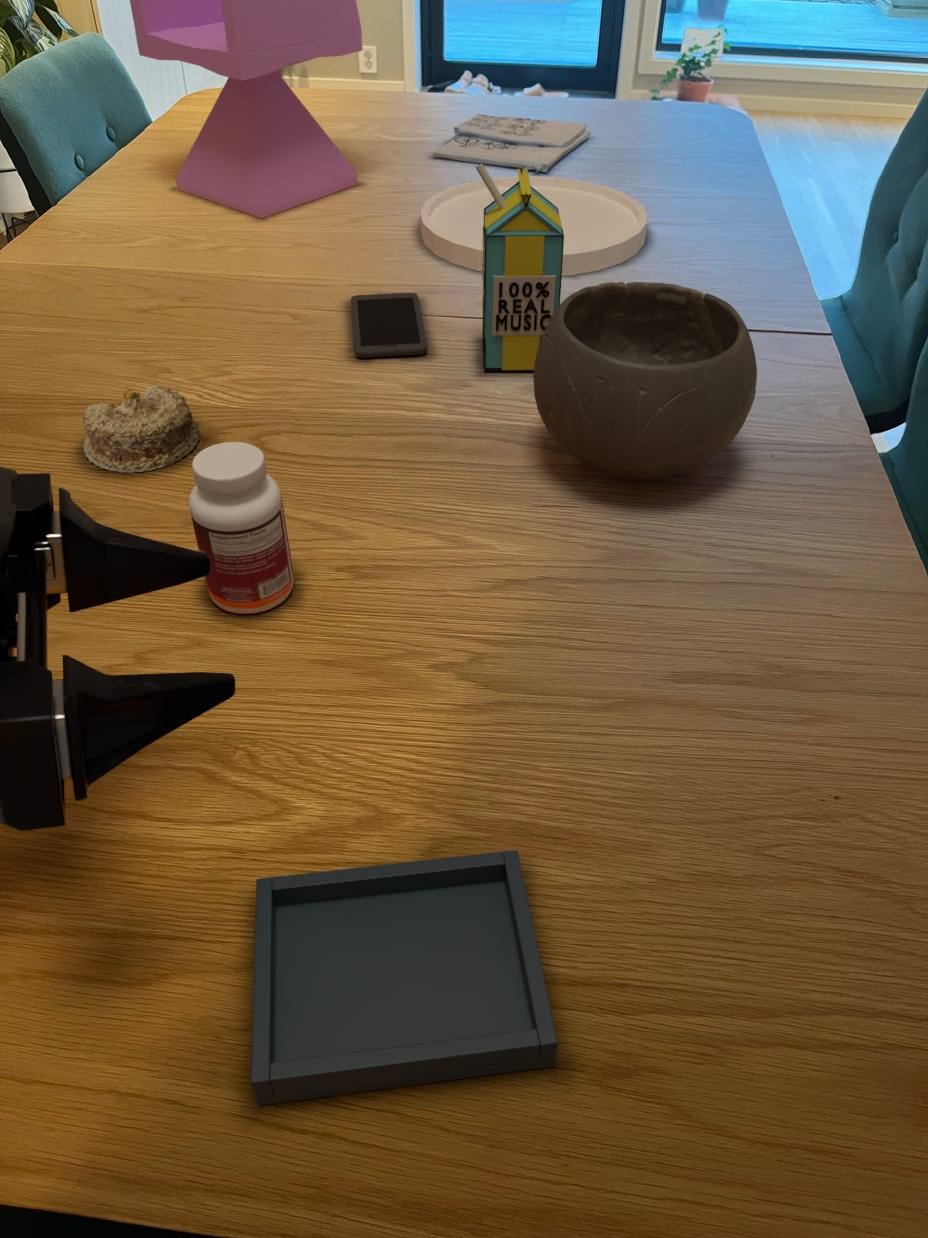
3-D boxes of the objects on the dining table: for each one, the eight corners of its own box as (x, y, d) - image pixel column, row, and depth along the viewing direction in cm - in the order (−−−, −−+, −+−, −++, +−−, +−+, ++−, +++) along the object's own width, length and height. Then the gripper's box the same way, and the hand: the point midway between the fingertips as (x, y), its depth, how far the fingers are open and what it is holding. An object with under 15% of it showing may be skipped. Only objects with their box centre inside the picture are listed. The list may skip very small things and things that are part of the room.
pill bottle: (217, 563, 76) (191, 434, 69) (300, 563, 76) (282, 434, 69) (200, 617, 71) (170, 485, 64) (288, 618, 71) (268, 485, 64)
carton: (474, 339, 104) (474, 153, 93) (550, 339, 104) (560, 152, 93) (475, 373, 99) (476, 179, 87) (555, 372, 99) (567, 179, 87)
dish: (257, 1106, 46) (250, 1082, 44) (262, 904, 54) (256, 878, 52) (554, 1067, 47) (557, 1042, 46) (516, 875, 55) (517, 849, 54)
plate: (588, 295, 113) (589, 273, 111) (377, 248, 123) (376, 227, 122) (678, 217, 131) (681, 197, 130) (488, 182, 142) (488, 163, 140)
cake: (224, 447, 90) (216, 394, 86) (122, 493, 84) (109, 439, 81) (161, 399, 94) (151, 347, 91) (62, 440, 89) (47, 387, 85)
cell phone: (417, 297, 112) (417, 291, 111) (428, 355, 101) (428, 348, 101) (350, 301, 111) (350, 294, 111) (354, 359, 101) (354, 352, 100)
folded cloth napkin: (591, 137, 158) (592, 122, 156) (545, 175, 144) (546, 159, 142) (478, 123, 164) (479, 108, 162) (424, 158, 150) (423, 143, 148)
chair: (164, 189, 140) (115, -73, 120) (274, 155, 151) (245, -90, 132) (261, 222, 130) (224, -58, 110) (370, 183, 141) (354, -77, 122)
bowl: (691, 395, 95) (712, 262, 87) (775, 501, 82) (810, 356, 74) (507, 415, 93) (511, 280, 84) (563, 529, 79) (575, 381, 71)
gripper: (-245, 640, 32) (256, 607, 37) (-160, 374, 45) (199, 377, 51) (-167, 865, 39) (248, 811, 44) (-113, 575, 52) (200, 559, 57)
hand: (221, 620), depth 49 cm, fingers open, 9 cm apart
